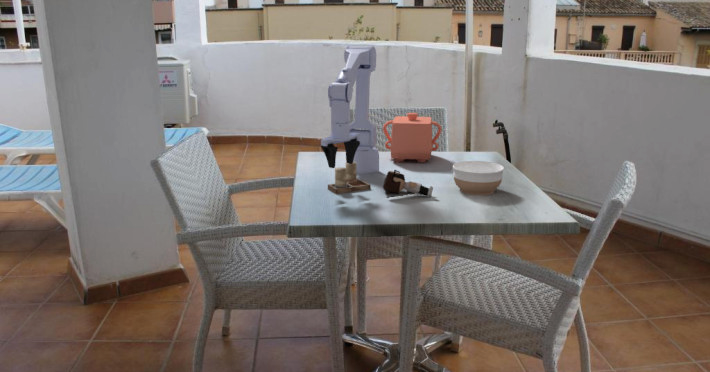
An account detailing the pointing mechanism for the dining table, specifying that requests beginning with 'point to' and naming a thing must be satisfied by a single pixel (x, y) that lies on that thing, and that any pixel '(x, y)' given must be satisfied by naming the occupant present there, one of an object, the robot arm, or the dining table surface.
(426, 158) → the lidded jar with handles
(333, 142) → the robot arm
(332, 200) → the dining table surface
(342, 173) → the beige rounded cylinder
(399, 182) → the figurine
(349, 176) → the beige short cylinder
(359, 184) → the socket board
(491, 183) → the bowl
